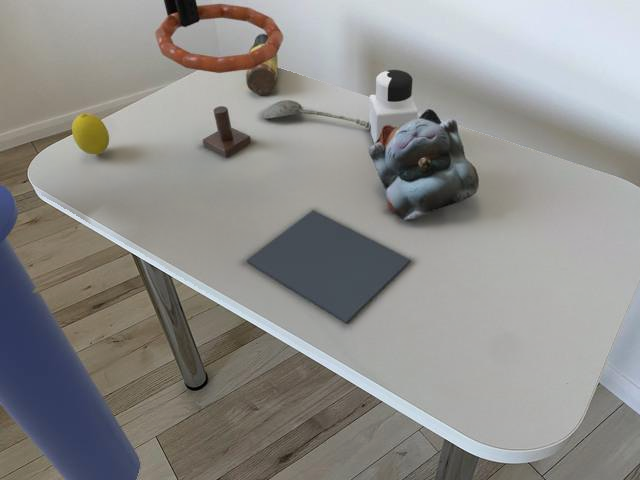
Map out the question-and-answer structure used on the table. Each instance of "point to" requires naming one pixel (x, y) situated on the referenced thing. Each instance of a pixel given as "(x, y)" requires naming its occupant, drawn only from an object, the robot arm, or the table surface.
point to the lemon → (90, 134)
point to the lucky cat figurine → (423, 166)
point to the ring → (226, 62)
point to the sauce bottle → (262, 71)
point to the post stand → (225, 135)
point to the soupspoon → (295, 108)
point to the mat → (329, 264)
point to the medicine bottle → (391, 101)
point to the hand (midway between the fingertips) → (184, 21)
